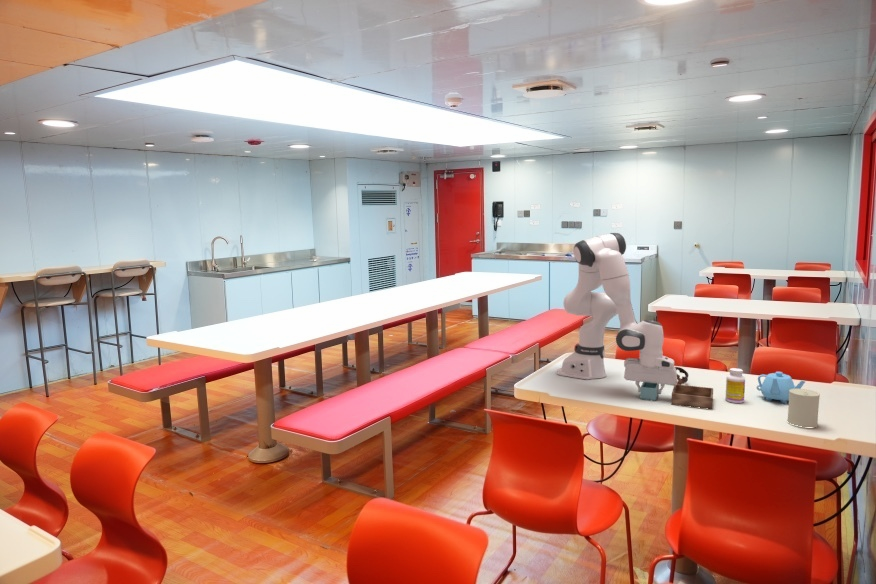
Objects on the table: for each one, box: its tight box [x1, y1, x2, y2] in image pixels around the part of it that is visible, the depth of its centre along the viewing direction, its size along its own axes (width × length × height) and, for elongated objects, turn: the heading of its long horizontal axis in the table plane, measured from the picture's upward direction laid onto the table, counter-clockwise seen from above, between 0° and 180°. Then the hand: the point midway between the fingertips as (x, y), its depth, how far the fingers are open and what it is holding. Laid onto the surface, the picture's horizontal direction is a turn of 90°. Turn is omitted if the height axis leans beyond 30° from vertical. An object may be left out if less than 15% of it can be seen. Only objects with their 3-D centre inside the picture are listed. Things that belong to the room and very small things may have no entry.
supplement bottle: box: [725, 367, 746, 404], centre depth 228 cm, size 7×7×13 cm
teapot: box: [756, 371, 806, 404], centre depth 229 cm, size 15×14×11 cm
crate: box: [670, 383, 714, 410], centre depth 228 cm, size 14×14×4 cm
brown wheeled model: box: [674, 366, 689, 385], centre depth 254 cm, size 12×10×8 cm
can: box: [786, 388, 821, 428], centre depth 202 cm, size 9×9×12 cm
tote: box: [639, 382, 660, 402], centre depth 235 cm, size 10×6×5 cm, turn 153°
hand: (649, 392), depth 235 cm, fingers closed on tote, 6 cm apart
